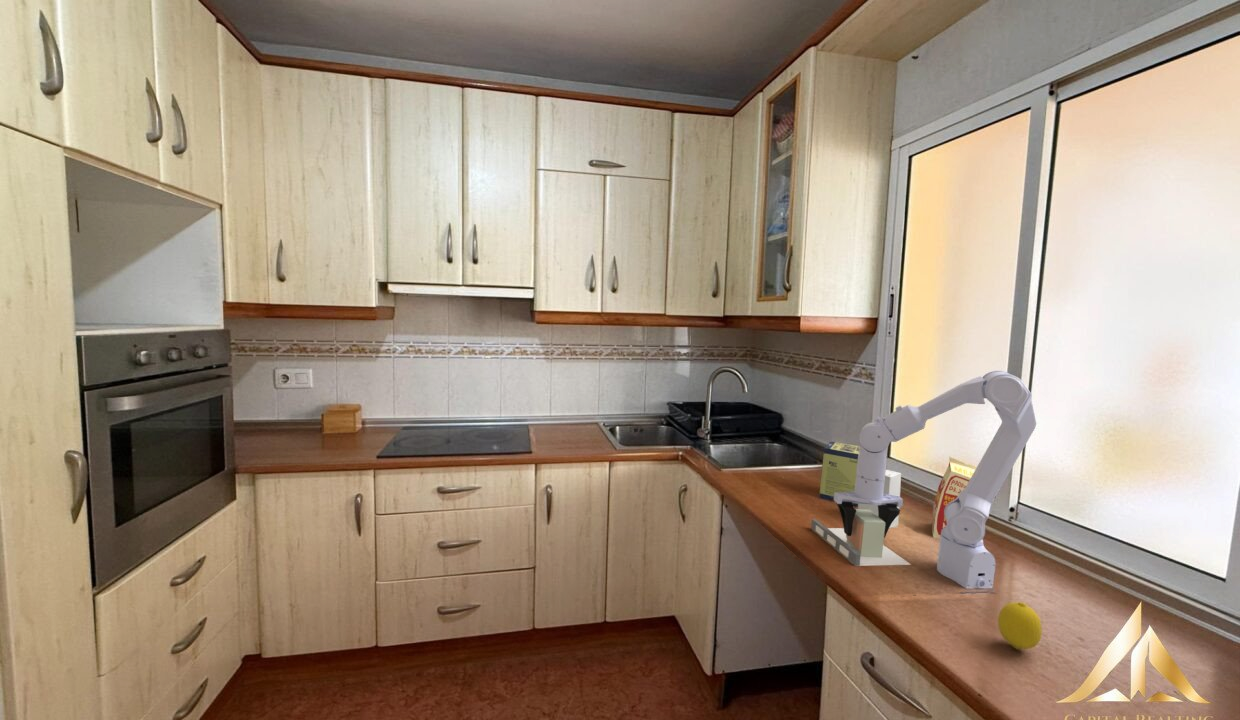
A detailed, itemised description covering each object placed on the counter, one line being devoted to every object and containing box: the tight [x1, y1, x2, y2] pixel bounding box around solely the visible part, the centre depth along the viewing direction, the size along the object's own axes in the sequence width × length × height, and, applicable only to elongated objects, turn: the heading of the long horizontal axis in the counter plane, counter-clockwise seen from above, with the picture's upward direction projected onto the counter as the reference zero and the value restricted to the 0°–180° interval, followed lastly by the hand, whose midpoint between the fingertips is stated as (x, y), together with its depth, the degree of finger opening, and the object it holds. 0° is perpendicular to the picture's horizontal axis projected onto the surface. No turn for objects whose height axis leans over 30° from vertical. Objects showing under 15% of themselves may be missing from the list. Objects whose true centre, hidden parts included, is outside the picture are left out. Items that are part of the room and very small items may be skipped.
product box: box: [846, 508, 885, 558], centre depth 111 cm, size 5×7×8 cm
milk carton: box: [931, 456, 978, 540], centre depth 124 cm, size 9×9×20 cm
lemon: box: [997, 601, 1043, 650], centre depth 81 cm, size 6×6×8 cm
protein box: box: [818, 441, 860, 508], centre depth 146 cm, size 10×16×16 cm
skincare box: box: [857, 469, 902, 530], centre depth 128 cm, size 8×6×15 cm
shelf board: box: [810, 518, 912, 567], centre depth 114 cm, size 18×13×4 cm
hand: (864, 534), depth 111 cm, fingers open, 7 cm apart
